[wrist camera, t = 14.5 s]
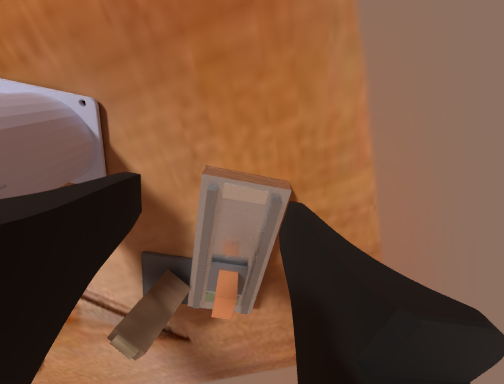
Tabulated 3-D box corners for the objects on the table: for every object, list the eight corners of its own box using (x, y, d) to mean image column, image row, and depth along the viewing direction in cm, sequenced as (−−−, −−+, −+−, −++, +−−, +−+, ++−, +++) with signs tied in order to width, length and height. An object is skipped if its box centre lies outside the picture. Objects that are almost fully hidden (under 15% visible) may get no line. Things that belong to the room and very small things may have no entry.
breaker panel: (191, 292, 28) (185, 312, 25) (206, 165, 20) (200, 177, 17) (250, 299, 29) (250, 319, 26) (288, 180, 21) (293, 194, 18)
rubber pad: (144, 296, 28) (143, 299, 28) (143, 251, 25) (141, 253, 24) (197, 302, 29) (196, 305, 28) (203, 260, 25) (203, 262, 25)
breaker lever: (207, 286, 24) (200, 318, 21) (211, 261, 22) (204, 292, 19) (241, 291, 24) (240, 323, 21) (248, 266, 23) (248, 297, 19)
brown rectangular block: (158, 280, 26) (104, 341, 20) (168, 269, 24) (111, 332, 18) (179, 298, 26) (132, 363, 20) (191, 288, 24) (142, 357, 18)
